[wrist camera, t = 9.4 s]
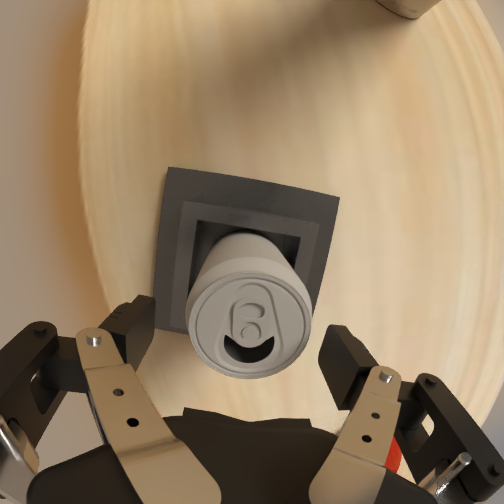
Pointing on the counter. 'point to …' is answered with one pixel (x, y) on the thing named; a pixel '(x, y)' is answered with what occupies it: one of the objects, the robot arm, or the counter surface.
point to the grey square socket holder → (229, 220)
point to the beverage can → (248, 308)
